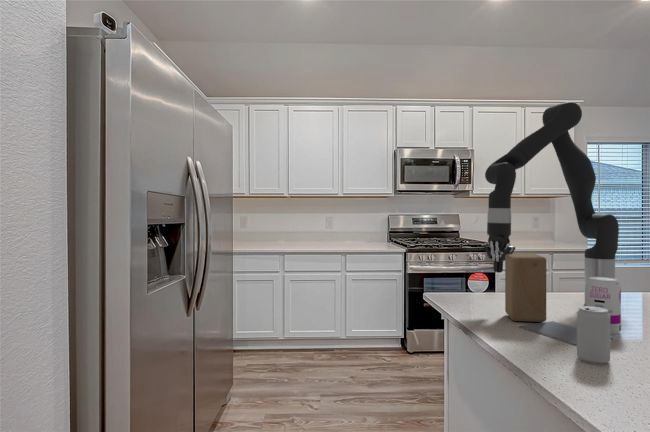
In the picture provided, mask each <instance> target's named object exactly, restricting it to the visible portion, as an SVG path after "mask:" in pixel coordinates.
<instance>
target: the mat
mask: <svg viewBox="0 0 650 432" xmlns="http://www.w3.org/2000/svg"><path fill="white" fill-rule="evenodd" d="M518 328H520V329H524V330H528V331H530V332H533V333H535V334H539V335H542V336H546V337H548V338H551V339H555V340H557V341H561V342H564V343H568V344H570V345H573V346H577V326H572V325H568V324H565V323H561V322H559V321H558V322H557V321H555V320H552V321H544V322H535V323H529V324H522V325H518ZM613 339H614V338H613V337H611V336H610V340H613Z"/></svg>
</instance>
